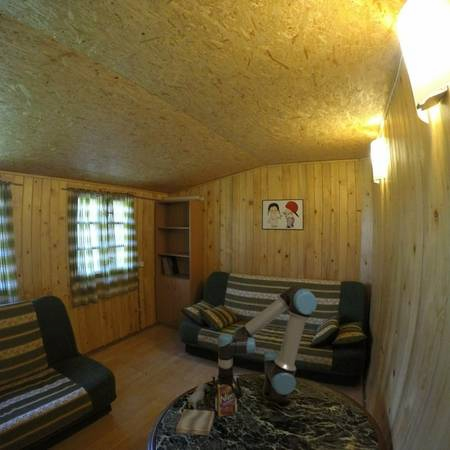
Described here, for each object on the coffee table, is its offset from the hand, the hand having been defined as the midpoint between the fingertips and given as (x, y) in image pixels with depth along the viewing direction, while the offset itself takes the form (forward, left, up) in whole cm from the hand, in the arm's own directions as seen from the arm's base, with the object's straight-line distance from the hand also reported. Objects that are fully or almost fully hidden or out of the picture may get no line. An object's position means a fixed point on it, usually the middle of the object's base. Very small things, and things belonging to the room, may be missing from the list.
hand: (226, 409), depth 141 cm
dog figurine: (+17, -6, -2) cm, 18 cm away
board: (+14, +9, -2) cm, 17 cm away
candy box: (0, 0, -2) cm, 2 cm away
